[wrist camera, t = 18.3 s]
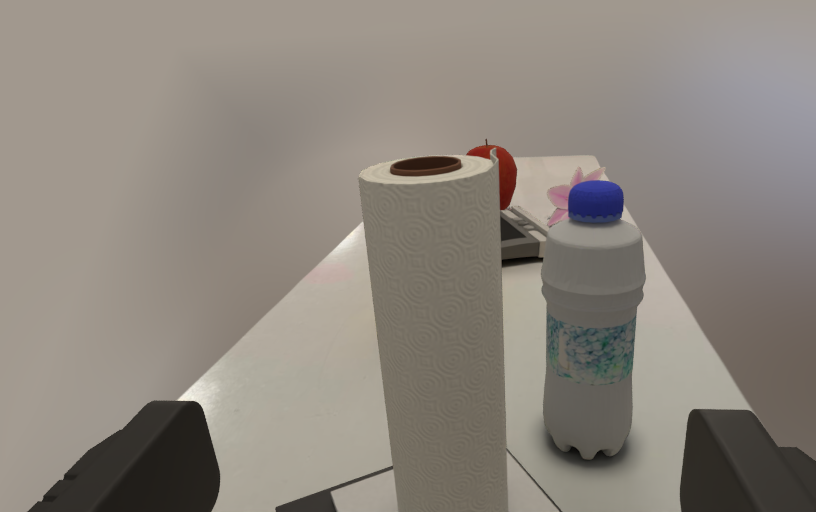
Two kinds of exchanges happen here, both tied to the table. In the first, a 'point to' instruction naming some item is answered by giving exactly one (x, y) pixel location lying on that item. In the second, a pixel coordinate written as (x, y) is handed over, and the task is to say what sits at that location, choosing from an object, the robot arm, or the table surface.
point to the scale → (377, 501)
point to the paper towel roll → (440, 327)
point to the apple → (500, 171)
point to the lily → (561, 194)
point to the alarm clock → (521, 234)
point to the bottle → (591, 320)
